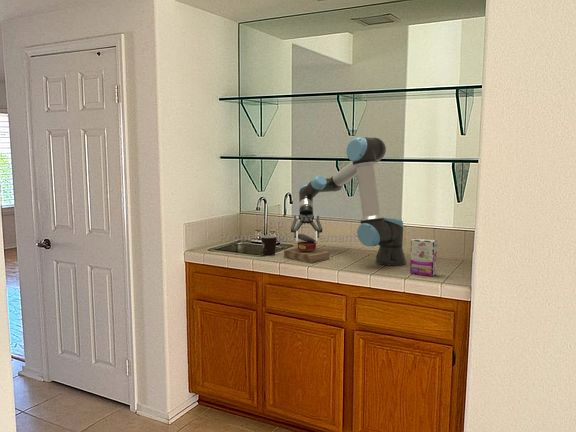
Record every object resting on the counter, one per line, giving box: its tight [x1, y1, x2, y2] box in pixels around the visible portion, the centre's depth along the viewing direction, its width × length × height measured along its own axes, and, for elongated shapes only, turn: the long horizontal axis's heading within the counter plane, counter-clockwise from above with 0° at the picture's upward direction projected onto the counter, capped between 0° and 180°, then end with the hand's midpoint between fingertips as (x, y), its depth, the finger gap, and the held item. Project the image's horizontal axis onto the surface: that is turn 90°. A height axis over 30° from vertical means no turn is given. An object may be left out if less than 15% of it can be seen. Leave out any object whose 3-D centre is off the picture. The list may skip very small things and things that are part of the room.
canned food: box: [297, 233, 317, 250], centre depth 276 cm, size 11×10×10 cm
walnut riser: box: [283, 247, 330, 264], centre depth 277 cm, size 20×14×4 cm
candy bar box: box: [409, 238, 438, 277], centre depth 242 cm, size 11×5×16 cm, turn 56°
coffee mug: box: [260, 234, 278, 257], centre depth 289 cm, size 12×9×10 cm
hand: (306, 242), depth 273 cm, fingers closed on canned food, 10 cm apart
